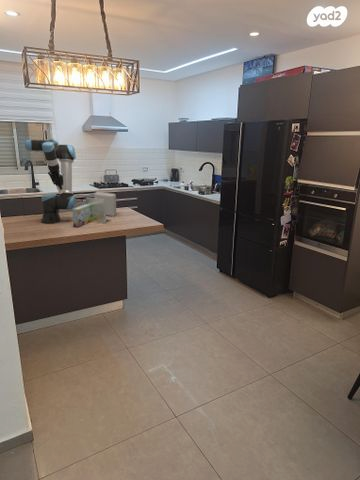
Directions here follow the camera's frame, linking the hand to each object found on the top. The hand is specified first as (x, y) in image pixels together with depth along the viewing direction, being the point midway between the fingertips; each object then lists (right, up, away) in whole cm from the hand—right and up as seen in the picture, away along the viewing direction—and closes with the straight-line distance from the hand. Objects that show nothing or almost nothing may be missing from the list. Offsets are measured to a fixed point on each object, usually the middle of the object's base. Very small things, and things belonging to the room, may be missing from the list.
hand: (61, 193), depth 249 cm
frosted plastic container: (+20, -19, +36) cm, 45 cm away
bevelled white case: (+21, -12, +58) cm, 63 cm away
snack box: (+9, -23, +24) cm, 35 cm away
